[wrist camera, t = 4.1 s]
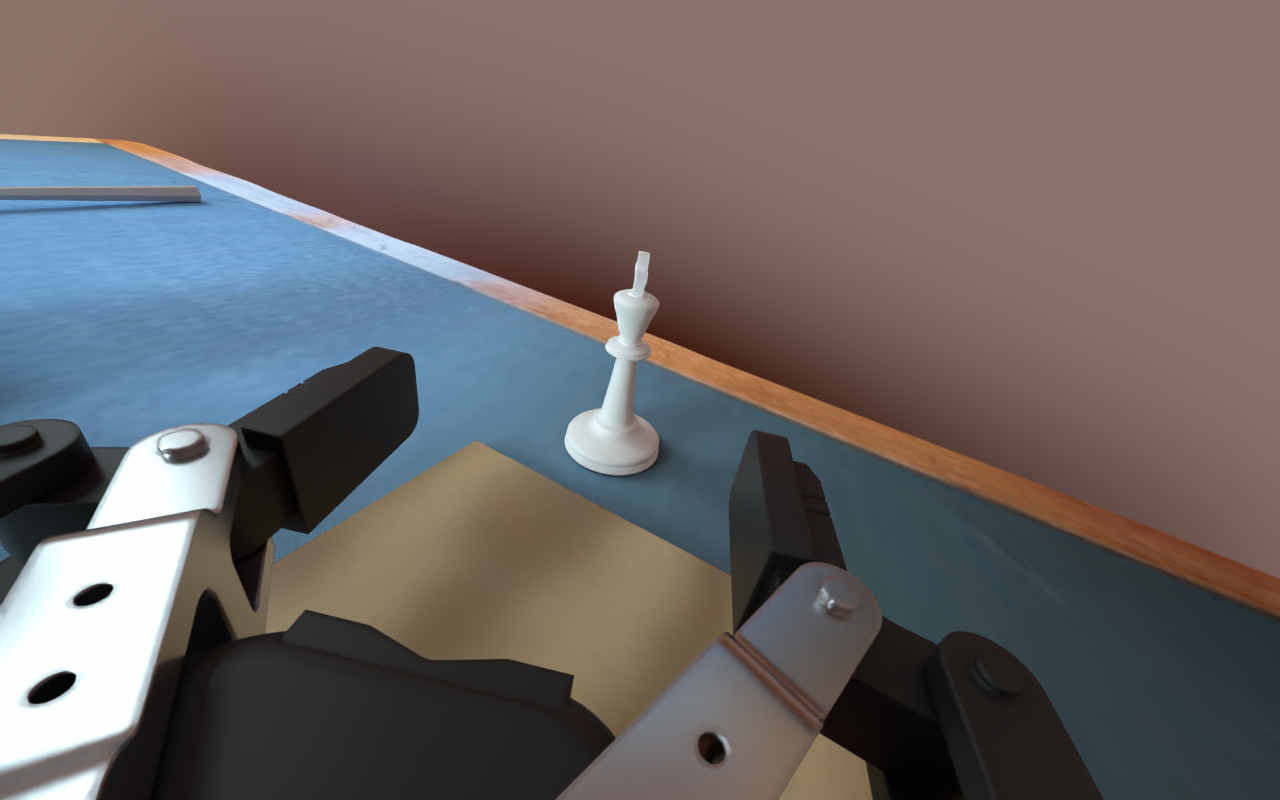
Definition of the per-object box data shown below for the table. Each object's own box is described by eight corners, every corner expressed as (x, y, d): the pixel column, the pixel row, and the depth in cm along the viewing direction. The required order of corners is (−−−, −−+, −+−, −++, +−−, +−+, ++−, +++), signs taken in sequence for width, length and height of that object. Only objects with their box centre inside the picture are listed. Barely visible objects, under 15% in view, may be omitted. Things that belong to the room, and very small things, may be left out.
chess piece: (654, 423, 27) (693, 248, 22) (661, 481, 23) (712, 279, 17) (569, 413, 26) (588, 230, 21) (559, 470, 22) (580, 259, 17)
